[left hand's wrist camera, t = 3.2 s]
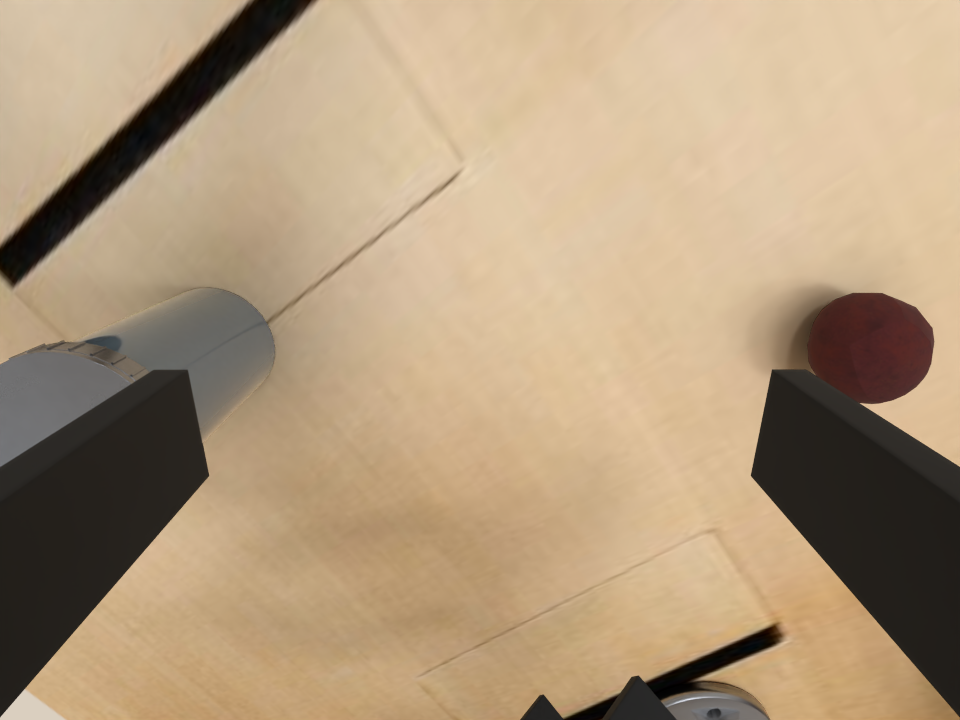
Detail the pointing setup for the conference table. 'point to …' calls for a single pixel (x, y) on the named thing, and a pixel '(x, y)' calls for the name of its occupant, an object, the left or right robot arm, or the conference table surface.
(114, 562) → the left robot arm
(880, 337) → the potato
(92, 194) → the conference table surface
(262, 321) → the jar
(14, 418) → the lid
